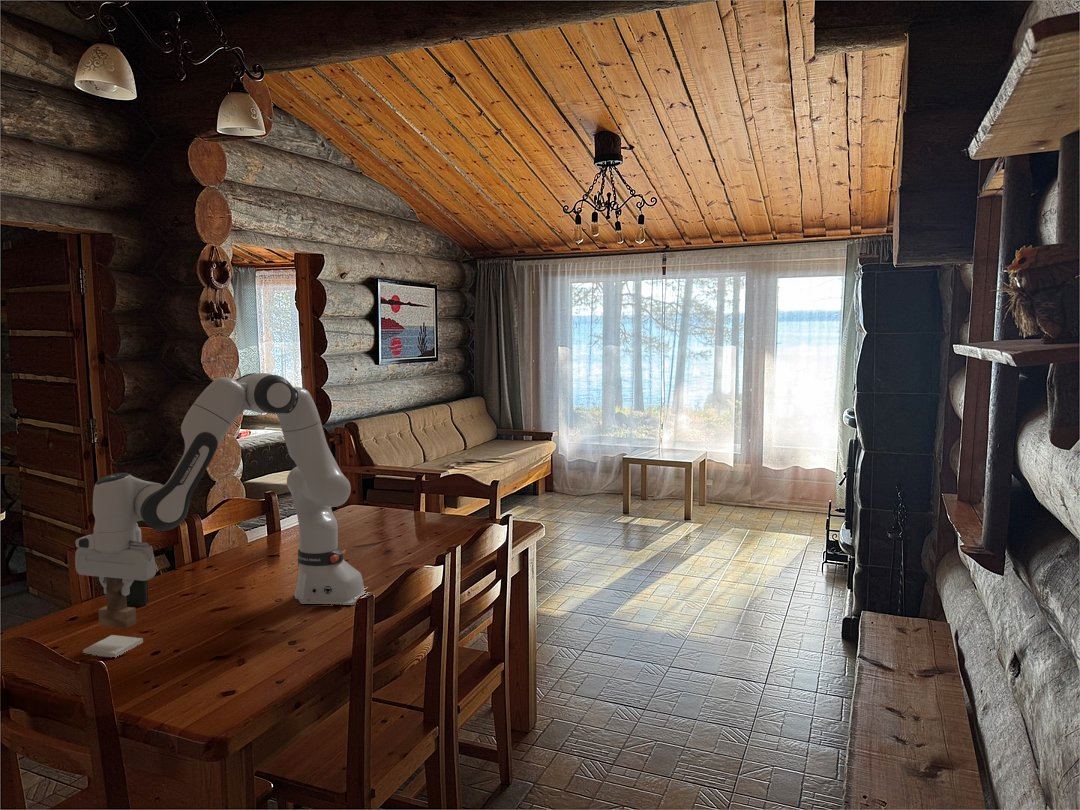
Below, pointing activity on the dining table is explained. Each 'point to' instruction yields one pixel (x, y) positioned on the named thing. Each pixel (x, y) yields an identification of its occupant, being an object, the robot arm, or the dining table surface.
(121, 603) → the grey t-shaped post
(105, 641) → the tile
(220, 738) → the dining table surface
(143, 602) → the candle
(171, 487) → the robot arm
